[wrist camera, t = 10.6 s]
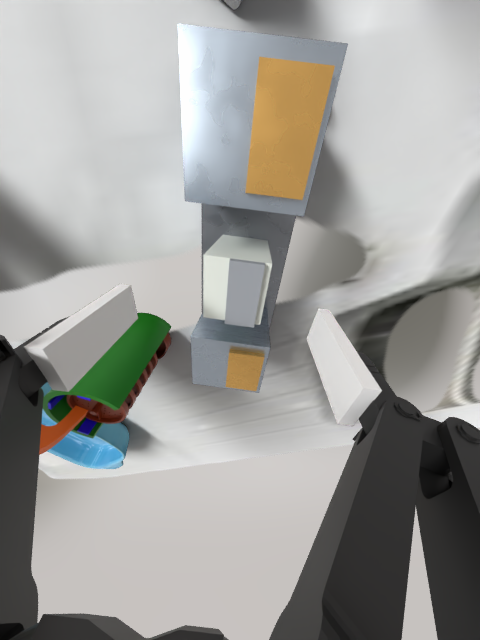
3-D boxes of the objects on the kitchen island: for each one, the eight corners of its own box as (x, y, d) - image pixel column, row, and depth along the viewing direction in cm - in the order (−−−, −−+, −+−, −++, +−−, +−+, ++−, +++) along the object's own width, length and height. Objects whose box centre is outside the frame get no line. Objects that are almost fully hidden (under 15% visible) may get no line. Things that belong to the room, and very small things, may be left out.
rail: (203, 342, 35) (184, 393, 26) (204, 78, 18) (149, -44, 9) (263, 351, 35) (264, 404, 26) (322, 92, 18) (388, -17, 9)
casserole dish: (-10, 388, 50) (-47, 414, 44) (19, 352, 41) (-22, 378, 35) (112, 449, 64) (97, 475, 58) (153, 432, 55) (141, 460, 49)
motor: (164, 361, 39) (92, 486, 22) (119, 344, 37) (5, 464, 20) (177, 324, 34) (96, 452, 17) (126, 303, 32) (-20, 419, 15)
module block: (220, 280, 27) (201, 320, 18) (222, 234, 24) (201, 256, 15) (259, 285, 27) (260, 328, 18) (267, 240, 24) (272, 266, 15)
